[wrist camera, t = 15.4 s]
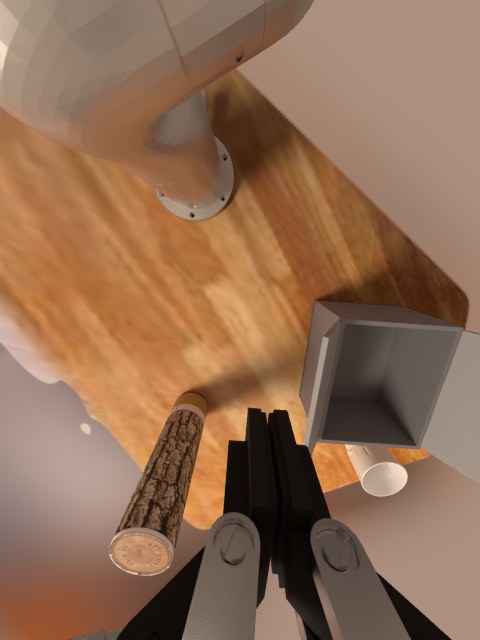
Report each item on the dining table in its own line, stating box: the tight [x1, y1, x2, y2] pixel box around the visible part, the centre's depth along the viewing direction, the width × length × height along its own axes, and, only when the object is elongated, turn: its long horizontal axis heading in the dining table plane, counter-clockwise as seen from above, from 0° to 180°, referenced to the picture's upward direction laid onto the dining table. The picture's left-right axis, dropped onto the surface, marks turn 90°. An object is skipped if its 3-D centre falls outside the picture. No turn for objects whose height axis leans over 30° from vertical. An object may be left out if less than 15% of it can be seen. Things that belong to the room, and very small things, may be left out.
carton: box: [299, 300, 464, 449], centre depth 39 cm, size 20×16×12 cm
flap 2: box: [420, 330, 480, 484], centre depth 30 cm, size 8×19×1 cm
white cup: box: [344, 444, 408, 496], centre depth 45 cm, size 8×8×10 cm
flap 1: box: [303, 321, 341, 455], centre depth 30 cm, size 8×19×1 cm
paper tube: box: [109, 393, 207, 576], centre depth 37 cm, size 7×7×25 cm
